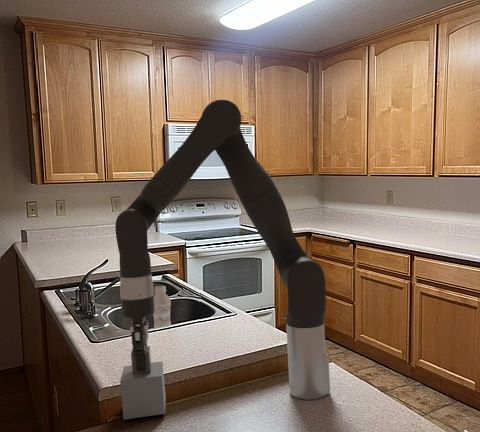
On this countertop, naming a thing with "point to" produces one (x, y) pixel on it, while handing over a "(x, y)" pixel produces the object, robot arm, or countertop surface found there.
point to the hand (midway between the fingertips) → (142, 366)
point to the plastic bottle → (161, 307)
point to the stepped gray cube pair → (143, 389)
